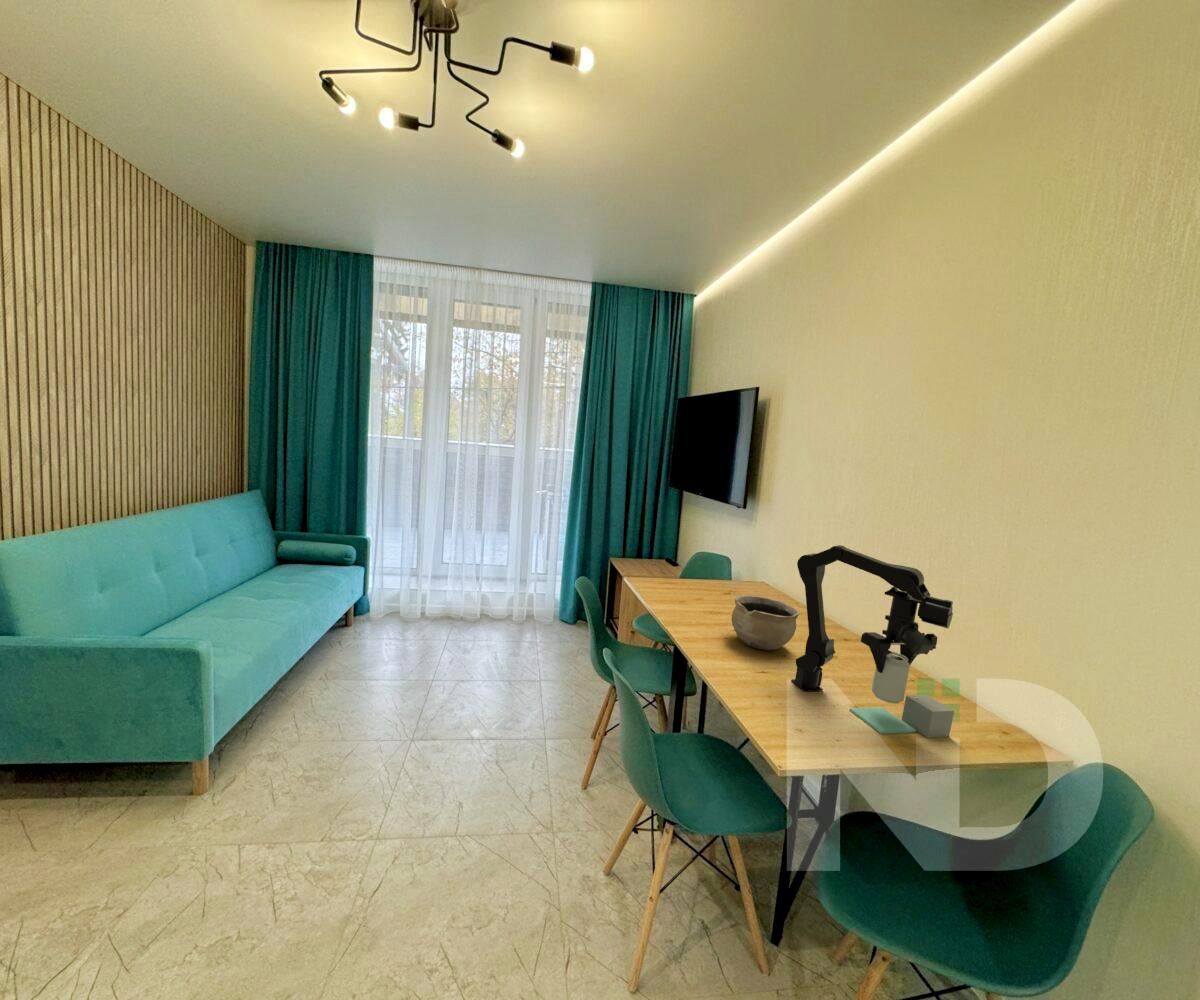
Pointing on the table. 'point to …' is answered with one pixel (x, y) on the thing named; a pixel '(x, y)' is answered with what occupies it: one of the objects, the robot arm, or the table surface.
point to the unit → (927, 716)
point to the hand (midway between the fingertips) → (891, 672)
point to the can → (892, 679)
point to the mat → (882, 720)
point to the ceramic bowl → (763, 622)
